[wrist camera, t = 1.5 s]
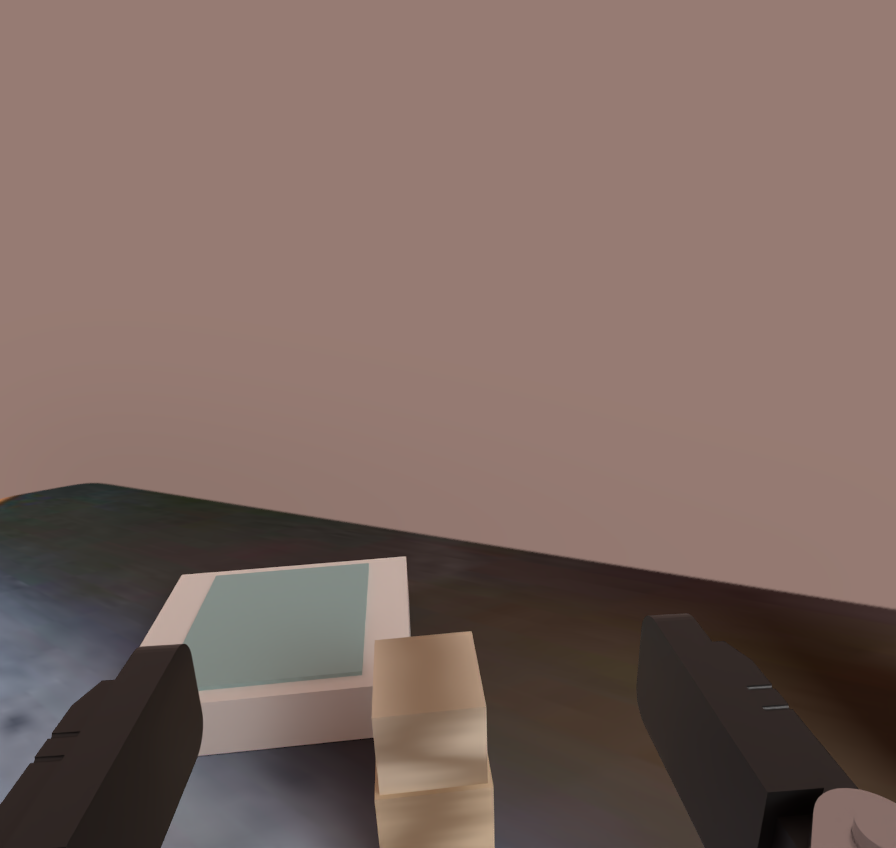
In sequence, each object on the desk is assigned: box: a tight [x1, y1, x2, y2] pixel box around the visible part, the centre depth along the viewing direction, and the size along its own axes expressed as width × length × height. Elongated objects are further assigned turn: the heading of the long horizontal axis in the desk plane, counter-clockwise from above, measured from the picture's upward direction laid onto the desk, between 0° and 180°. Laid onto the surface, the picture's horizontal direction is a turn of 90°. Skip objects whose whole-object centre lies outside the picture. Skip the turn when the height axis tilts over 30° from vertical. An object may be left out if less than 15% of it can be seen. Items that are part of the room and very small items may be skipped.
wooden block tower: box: [372, 631, 495, 848], centre depth 27 cm, size 5×5×12 cm
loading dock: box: [140, 556, 411, 756], centre depth 42 cm, size 18×14×4 cm
